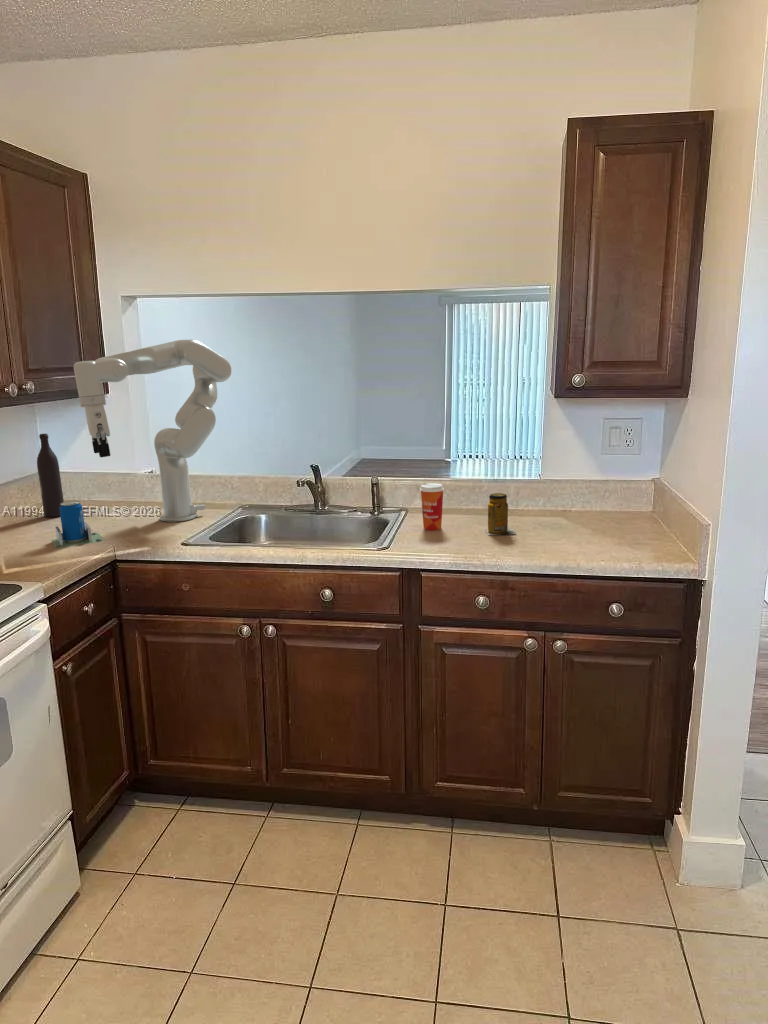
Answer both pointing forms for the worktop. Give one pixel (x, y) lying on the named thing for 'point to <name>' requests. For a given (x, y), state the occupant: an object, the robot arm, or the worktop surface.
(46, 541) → the worktop surface
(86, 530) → the bracket
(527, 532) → the worktop surface
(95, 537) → the deck plate
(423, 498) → the paper cup
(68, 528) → the beverage can
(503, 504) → the condiment
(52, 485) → the wine bottle
